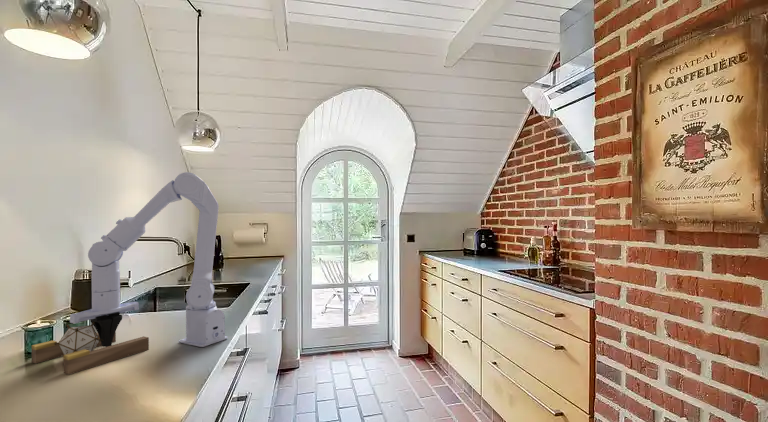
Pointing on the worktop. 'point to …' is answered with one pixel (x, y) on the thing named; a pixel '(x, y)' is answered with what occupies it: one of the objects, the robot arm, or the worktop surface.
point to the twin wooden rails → (88, 353)
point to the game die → (78, 339)
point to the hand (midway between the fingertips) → (106, 345)
